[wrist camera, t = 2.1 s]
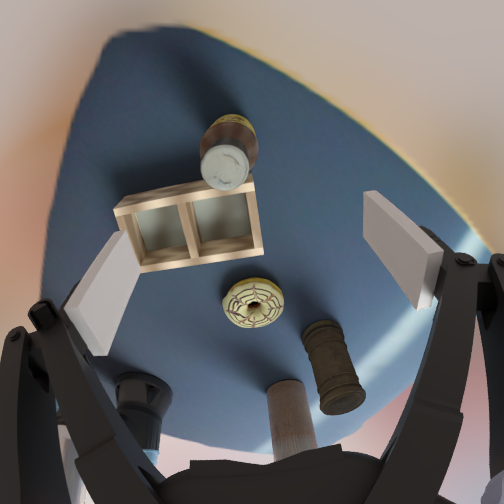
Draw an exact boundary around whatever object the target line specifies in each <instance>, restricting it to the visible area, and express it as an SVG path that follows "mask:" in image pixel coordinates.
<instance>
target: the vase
mask: <svg viewBox="0 0 504 504" xmlns="http://www.w3.org/2000/svg"><path fill="white" fill-rule="evenodd" d="M267 402H268V411H269V420H270V429H271V437H272V446H273V455H274V462H276V461H279V460H281V459H284V458H287V457H289V456H292V455H295V454H297V453H300V452H302V451H306V450H311V449H316V448H318V447H317V442H316V437H315V432H314V427H313V422H312V418H311V413H310V408H309V404H308V399H307V394H306V390H305V386H304V384H303V383H301V382H299V381H296V380H284V381H280V382H277V383H275V384H273V385H271V386H270V387H269V388H268V390H267Z"/></svg>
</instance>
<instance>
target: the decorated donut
mask: <svg viewBox="0 0 504 504" xmlns="http://www.w3.org/2000/svg"><path fill="white" fill-rule="evenodd" d="M252 301H257V302H258V303H257V304H255V305H248V304H249V303H251V302H252ZM222 305H223V309H224V311H225V314H226V315H227V317H228V318H229V319H230V320H231V321H232V322H233V323H234V324H236V325H238V326H240V327H244V328H254V327H262V326H265V325H267V324H269V323H271V322H273V321H274V320H275V319H277V318H278V317H279V315H280V314H281V313H282V311H283V306H284V298H283V294H282V291H281V290H280V289H279V288H278V287H277V286H276V285H275V284H274V283H272V282H271V281H269V280H267V279H263V278H258V277H253V278H247V279H244V280H241V281H239V282H238V283H236V284H235V285H233V286H232V287H231V289H230V290H229V291H228V293H227V295H226V296H225V297H224V298H223V301H222Z"/></svg>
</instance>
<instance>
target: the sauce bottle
mask: <svg viewBox="0 0 504 504" xmlns="http://www.w3.org/2000/svg"><path fill="white" fill-rule="evenodd" d="M257 156H258V142H257V138H256V135H255V132H254V129H253V127H252V125H251V123H250V122H249V121H248V120H247V119H246V118H244V117H242V116H240V115H236V114H229V115H224V116H222V117H220V118H219V119H217V120H216V121H215V122H214V123H213V124H212V125H211V127H210V128H209V129H208V130H207V131H206V132H205V134H204V135H203V137H202V139H201V143H200V158H201V162H200V171H201V175H202V177H203V179H204V181H205V182H206V183H207V184H208V185H209V186H210V187H212V188H214V189H217V190H222V191H229V190H233V189H235V188H238V187H239V186H240V185H242V184H243V183H244V182H245V180H246V178H247V177H248V174H249V171H250V170H251V169H252V167H253V166H254V164H255V162H256V160H257Z"/></svg>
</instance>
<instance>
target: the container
mask: <svg viewBox="0 0 504 504" xmlns="http://www.w3.org/2000/svg"><path fill="white" fill-rule="evenodd" d="M302 343H303V345H304V348H305V350H306V352H307V353H308V356H309V360H310V362H311V365H312V368H313V372H314V377H315V381H316V384H317V388H318V389H317V391H318V393H319V395H320V410H321V411H322V412H323V413H324V414H326V415H341V414H345V413H348V412H350V411H352V410H354V409H356V408H357V407H359V406H360V405H361V404H362V403H363V402H364V400H365V398H366V393H365V390H364V389H363V388H362V386H361V385H360V384H359V378H358V376H357V375H356V372H355V369H354V367H353V364H352V361H351V359H350V356H349V354H348V351H347V345H346V343H345V341H344V334H343V330H342V328H341V326H340V325H339V324H338V323H336V322H334V321H331V320H322V321H318V322H315V323H313V324H311V325H310V326H309V327H308V328H307V329H306V330H305V331H304V333H303V336H302Z"/></svg>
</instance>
